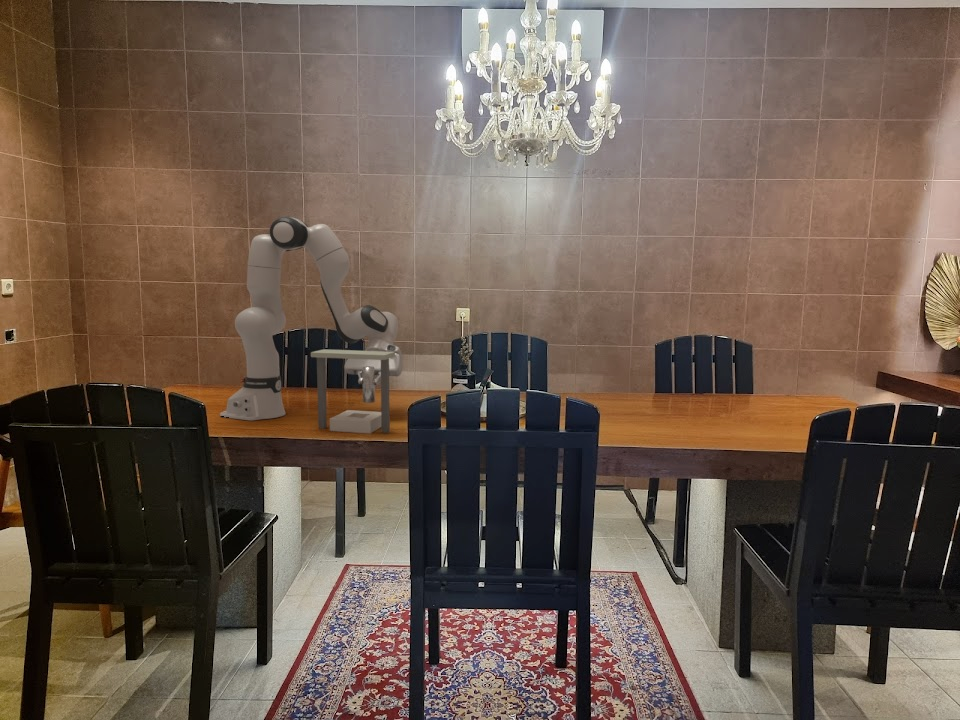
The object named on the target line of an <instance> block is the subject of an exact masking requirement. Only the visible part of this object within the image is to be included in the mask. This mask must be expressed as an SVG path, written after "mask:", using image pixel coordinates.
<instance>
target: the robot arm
mask: <svg viewBox="0 0 960 720" xmlns="http://www.w3.org/2000/svg"><path fill="white" fill-rule="evenodd" d="M302 248H304V249H306V250H307V251H308V252H309V253H310V255H311V257H312V258H313V260H314V262H315V264H316V266H317V268H318V271H319V274H320V275H319V276H320V282H319V283H320V287H321V290H322V294H323V295H324V298H325V301H326V303H327V306H328V308H329V310H330V314H331V315H332V319H333V320H334V324H335V329H336V332H337V335H338V336H339V338H340V339H341V340H342V341H344V342H346V343H348V344H355V343H357V342H359V341H361V340H362V339H363V338H366V337H368V341H367V346H366V348H365V351H383V352H395V357H392V358H389V377H399V376H401V375H402V372H403V368H404V367H403V366H404V364H403V361H404V356H403V353H402V351H401V349H400V347H399V346H397V345H394V343H395V341H396V339H397V335H398V332H399V320H398V317H397V316H396V315H395V314H393V313H392V312H389V311H382V310H379V309H378V308H376V307H375V306H373V305H370V304H369V305H367V304H365V305H364V306H362V307H360V308H358V309H356V310H355V311H353V312H351V313H350V311H349V309H348V306H347V305H346V302H345V299H344V297H343V294H342V284H343V283H344V281H345V279H346V277H347V275H348V274H349V272H350V267H351V259H350V258H349V255H348V253H347V251H346V250H345V247H344V245H343V244H342V242H341V241H340V239H339V238H338V236H337V235H336V234H335V232H334V231H333V230H332V228H331V227H330V226H329V225H328V224H324V223H318V224H314V225H312V226H308V224H307V223H305V221H303V220H301V219H298V218H296V217H293V216H281V217H278V218H277V219H274V220H273V221H272V223H271V225H270V227H269V234H267V233H266V234H265V233H262V234H258V235H256V236H254V237H253V238H252V240H251V244H250V246H249V252H248V257H247V258H248V260H247V275H246V289H247V291H248V292H249V296H250V301H251V307H247V308H246V309H243V310H242V311H240V312H239V313H238V314H237V315H236V317H235V319H234V328H235V331H236V332H237V334H238V335H239V336H240V338H241V342H242V345H243V349H244V353H245V360H246V361H245V362H246V376H245V377H244V378H241V379H240V383H243V384H242V387H241V388H240V389H239V390H237V391H236V392H235V393H233V395H231V396H230V397H228V399H227V403H226V410H224V411H221V412H220V413H219V417H220V416H224V417H223V418H226V417H229V418H228V419H237V420H242V421H243V420H244V421H259V420H266V419H267V420H268V419H269V420H270V419H274V418H279V417H280V418H281V417H283V416H285V415H286V414H287V413H286V411H285V408H284V407H285V406H284V403H283V397H282V376H281V375H280V374H281V373H280V355H279V352H278V350H277V348H276V345H275V342H274V339H273V338H274V337H273V336H275V335H277V334H279V333H280V332H281V331H282V330H283V329H285V326H286V323H287V317H286V315H285V314H286V313H285V312H284V310H283V304H282V297H281V276H282V260H283V255H284V253H285V252H290V251H297V250H301V249H302ZM366 366H372V367H374V371H375V376H377V377H376V378H374V381H373V384H374V385H375V386H379V384H380V382H381V360H371V359H347V360H346V362H345V364H344V367H343V368H344V370H345V372H346V374H348V375H358V380H357V383H358V385H363V367H366Z"/></svg>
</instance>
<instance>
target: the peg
mask: <svg viewBox="0 0 960 720" xmlns="http://www.w3.org/2000/svg"><path fill="white" fill-rule="evenodd" d="M375 376H376V375H375V371H374V367H372V366H366V367H363V377H362V378H363V384H362V403H365V404H371V403H375V402H376V397H375V396H376V390H375V389H376V388H375V386H376V385H374V384H373V381H374V378H375Z"/></svg>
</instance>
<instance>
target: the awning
mask: <svg viewBox="0 0 960 720" xmlns="http://www.w3.org/2000/svg"><path fill="white" fill-rule="evenodd" d="M310 357H311V358H316V375H317V376H316V377H317V378H316V381H317V382H316V383H317V418H318V422H317V423H318V424H317V425H318V429H321V430H322V429H323V430H324V429H327V428H328V422H327V421H328V418H327V416H328V414H327V380H326V379H327V376H326V375H327V373H326V369H327V368H326V359H371V360H381V381H380V400H381V401H380V404H381V405H380V407H381V408H380V410H381V411H380V412H381V424H382V427H381V434H382V433H383V434H388V433H390V432H391V430H390V429H391V428H390V427H391V424H390V422H391V420H390V416H391V415H390V414H391V413H390V376H389V358H392V357H395V352H383V351H366V350H356V349H355V350H353V349H352V350H350V349H319V350H314V351H311V352H310Z"/></svg>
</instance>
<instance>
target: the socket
mask: <svg viewBox="0 0 960 720" xmlns="http://www.w3.org/2000/svg"><path fill="white" fill-rule="evenodd" d="M381 428H382V424H381V411H369V410H353V409H346V410H345V411H343V412H341V413H339V414H336V415H334V416H332V417H331V418H329V431H330V432H339V433H341V432H343V433H354V434H356V433H357V434H372V433H374V432H376V431H377V430H379V429H381Z"/></svg>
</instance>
